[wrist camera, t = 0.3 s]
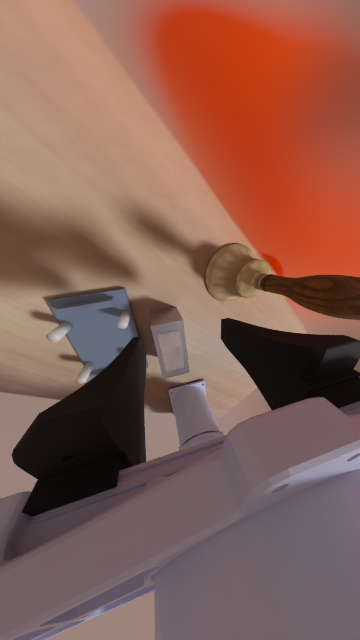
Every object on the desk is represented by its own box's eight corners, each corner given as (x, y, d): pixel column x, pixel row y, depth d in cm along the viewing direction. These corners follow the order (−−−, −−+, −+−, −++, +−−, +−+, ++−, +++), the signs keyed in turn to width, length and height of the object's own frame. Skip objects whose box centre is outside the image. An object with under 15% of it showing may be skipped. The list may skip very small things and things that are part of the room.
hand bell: (204, 304, 21) (314, 395, 7) (205, 245, 18) (431, 195, 4) (250, 297, 23) (418, 364, 8) (259, 242, 19) (580, 195, 5)
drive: (181, 351, 25) (189, 372, 20) (160, 356, 24) (163, 379, 20) (175, 306, 21) (183, 320, 16) (150, 311, 20) (150, 326, 16)
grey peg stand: (148, 364, 24) (147, 382, 21) (95, 377, 23) (86, 398, 19) (125, 287, 18) (119, 294, 14) (50, 299, 16) (25, 309, 13)
